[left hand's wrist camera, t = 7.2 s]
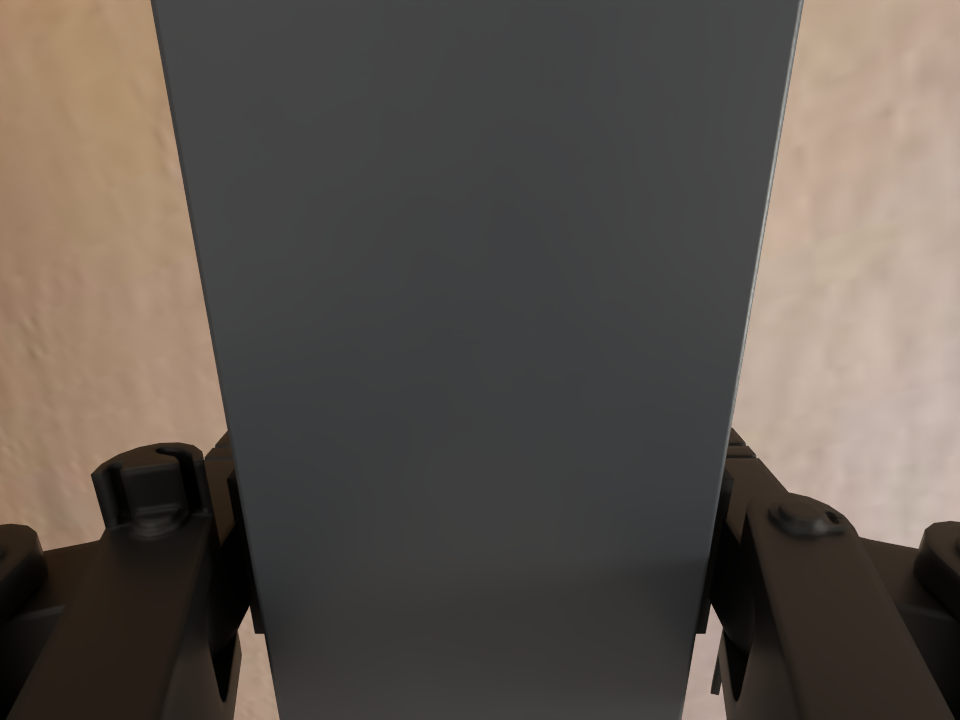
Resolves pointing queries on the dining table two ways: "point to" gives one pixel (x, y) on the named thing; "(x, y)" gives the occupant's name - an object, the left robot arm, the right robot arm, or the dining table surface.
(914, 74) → the dining table surface
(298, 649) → the post
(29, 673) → the left robot arm
